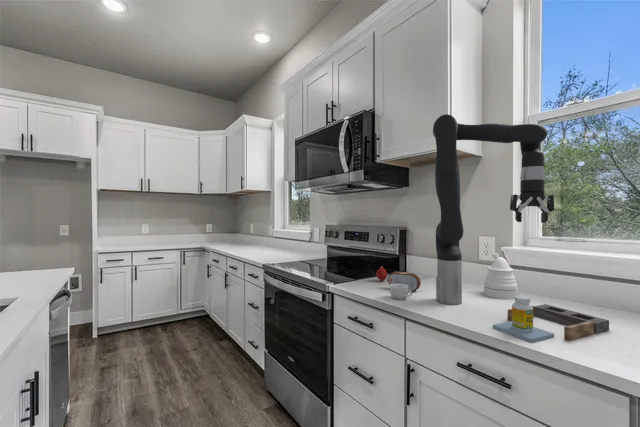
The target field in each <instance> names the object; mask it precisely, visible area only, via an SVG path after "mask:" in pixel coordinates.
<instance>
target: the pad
mask: <svg viewBox="0 0 640 427" xmlns="http://www.w3.org/2000/svg"><path fill="white" fill-rule="evenodd" d="M492 329H494V330H497V331H499V330H500V332H502V331H503V333H505V332H506V333H505V334H507V333H508V335H510V334H511V336H512V335H514V336H513V337H515V336H516V337H515V338H517V339H518V338H519V339H520V338H521V340H523V339H524V340H523V341H525V342H528V341H529V343H531V344H533V343H536V341H537V342H540V340H541V341H544V340H548V339H552V338H555V333H554V332H552V331H548V330H544V329H541V328H539V327H535V326H533V331H531V332H524V331H519V330H516V329H514V328H513V326H512V321H506V322H500V323H496V324H492ZM532 342H533V343H532Z"/></svg>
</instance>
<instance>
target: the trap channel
mask: <svg viewBox="0 0 640 427" xmlns="http://www.w3.org/2000/svg"><path fill="white" fill-rule="evenodd" d="M532 307H533V318H535V317H539V318H541V319H544V320H545V319H546V320H549V321H552V322H556V323H559V324H562V325H565V326H564V327H563V329H564V330H563V339H564V340H566V341H569V342H570V341H574V340H577V339H581V338H585V337H588V336H592V335H596V334H599V333H603V332H607V331H610V319H605V318H601V317H597V316H595V315H594V316H593V315H590V314H586V313H581V312H579V311H578V312H577V311H574V310H570V309H566V308H562V307H558V306H554V305H551V304H547V303H546V304H541V305H540V304H539V305H535V306H534V305H532ZM507 321H508V322H510V321H512V308H509V309H507Z"/></svg>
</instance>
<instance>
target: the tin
mask: <svg viewBox="0 0 640 427" xmlns="http://www.w3.org/2000/svg"><path fill="white" fill-rule="evenodd" d="M387 277H388V278H387V282H388V285H389V286H390V285H391V284H404V285H408V290H411V291H412V292H416V291H417V290H418V289H420V286H421V284H422V283H421V279H420V277H419V276H418V275H417V274H416V273H413V272H404V271H396V270H395V271H392V272H391V273H390V274H389V275H388V276H387Z"/></svg>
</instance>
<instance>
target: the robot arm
mask: <svg viewBox="0 0 640 427" xmlns="http://www.w3.org/2000/svg"><path fill="white" fill-rule="evenodd" d="M432 135H433V136H434V139H435V147H436V158H435V167H434V168H435V169H434V171H435V172H434V179H435V180H434V181H435V182H434V183H435V191H436V195H437V199H438V202H439V207H440V222H439V223H438V224H437V226H436V229H435V250H436V260H437V261H436V262H437V263H436V264H437V265H436V266H437V267H436V268H437V269H436V270H437V274H436V276H435V299H436V301H437V302H438V303H440V304H447V305H460V304H462V303H463V294H462V293H463V290H462V289H463V287H462V286H463V284H462V282H463V277H462V276H463V275H462V274H463V271H462V270H463V269H462V268H463V266H462V265H463V263H462V262H463V260H462V259H463V258H462V257H463V255H462V252H461V248H460V241H461V239H462V238H463V236H464V224H463V219H462V214H461V213H462V212H461V176H460V165H459V158H458V151H457V141H479V142H487V143H489V142H490V143H499V144H500V143H501V144H511V143H519V146H520V152H521V153H520V154H521V170H520V177H519V178H520V179H519V180H520V183H519V184H520V189H519V190H520V193H519V195H518V194H511V196H510V204H509V210H510V211H514V212H515V215H514V216H515V218H514V219H515V221H516V222H517V223H522V217H523V216H522V215H523V212H522V211H523V210H524V209H525V208H526V207H537V208H538V209H539V210H540V211H541V214H540V223H541V224H546V223H547V222H548V221H549V213H551V212H554V211H555V196H554V195H553V194H549V195H545V180H546V179H545V178H546V177H545V176H546V174H545V154H544V152H543V151H542V145H541V144H542V142H544V141H545V140H546V138H547V136H548V129H547V128H546V127H545V126H544V125H542V124H536V123H523V124H521V123H519V124H508V123H507V124H506V123H481V124H465V123H463V124H462V123H458V122H457V119H456V118H455V117H454V116H453V115H451V114H442V115H440V116H439V117H438V118H436V120H435V121H434V123H433V127H432ZM519 200H520V203H519V204H518V201H519ZM544 200H545V201H546V204H545V203H544ZM517 204H518V205H517Z"/></svg>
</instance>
